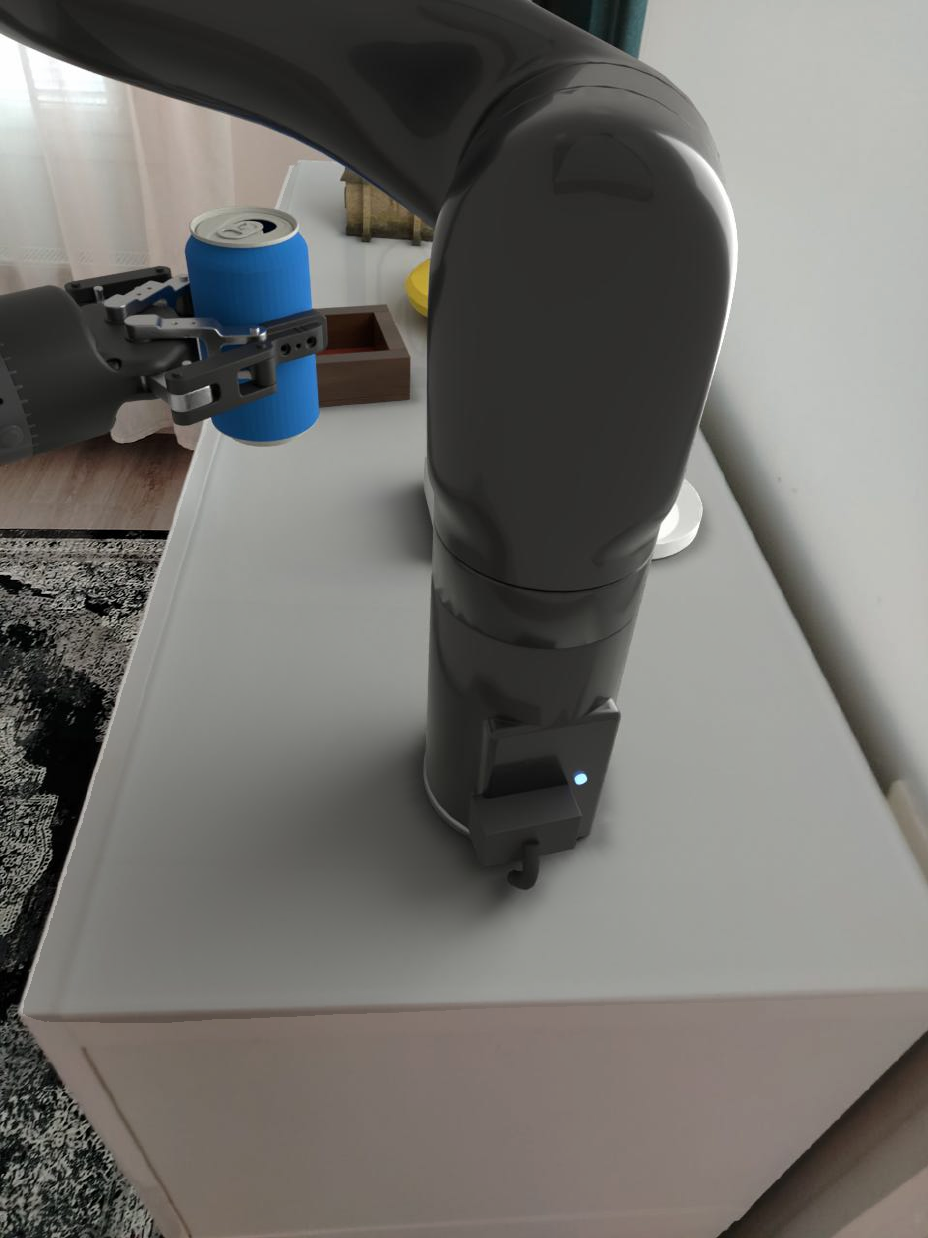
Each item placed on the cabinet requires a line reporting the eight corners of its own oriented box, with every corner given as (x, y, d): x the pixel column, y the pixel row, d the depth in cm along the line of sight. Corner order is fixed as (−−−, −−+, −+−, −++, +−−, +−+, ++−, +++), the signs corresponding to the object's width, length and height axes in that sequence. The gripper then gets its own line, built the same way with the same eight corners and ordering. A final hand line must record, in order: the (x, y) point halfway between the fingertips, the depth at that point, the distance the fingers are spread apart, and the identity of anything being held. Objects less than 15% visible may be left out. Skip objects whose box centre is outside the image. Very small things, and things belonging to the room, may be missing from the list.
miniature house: (461, 248, 104) (466, 140, 96) (340, 239, 104) (335, 131, 96) (468, 204, 115) (473, 104, 107) (359, 196, 115) (356, 96, 107)
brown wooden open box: (410, 399, 78) (410, 356, 75) (288, 409, 76) (284, 366, 73) (387, 344, 85) (386, 303, 83) (275, 352, 83) (271, 310, 80)
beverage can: (341, 420, 56) (331, 221, 48) (271, 465, 52) (248, 256, 44) (262, 389, 58) (240, 194, 50) (190, 430, 54) (153, 226, 46)
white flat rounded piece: (422, 443, 67) (675, 433, 70) (421, 478, 69) (666, 467, 72) (446, 539, 59) (732, 523, 62) (444, 575, 61) (720, 558, 64)
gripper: (22, 371, 37) (359, 283, 45) (-81, 258, 45) (221, 201, 53) (67, 519, 42) (363, 416, 50) (-32, 393, 50) (237, 322, 58)
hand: (289, 306), depth 52 cm, fingers closed on beverage can, 6 cm apart
